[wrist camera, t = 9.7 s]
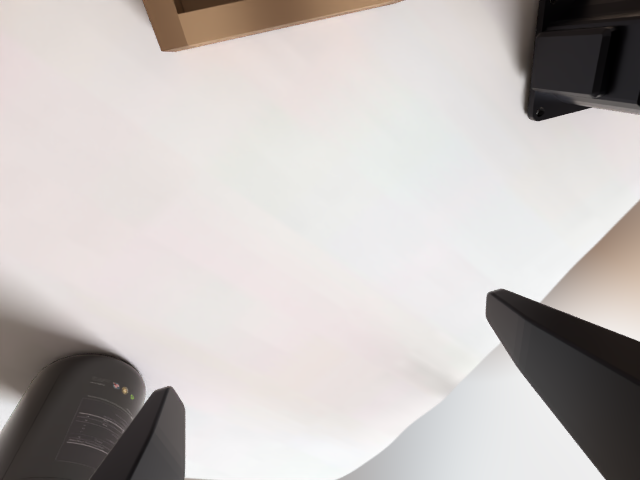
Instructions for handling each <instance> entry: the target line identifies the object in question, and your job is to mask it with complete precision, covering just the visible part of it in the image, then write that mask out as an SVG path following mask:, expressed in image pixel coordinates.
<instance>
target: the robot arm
mask: <svg viewBox="0 0 640 480" xmlns="http://www.w3.org/2000/svg"><path fill="white" fill-rule="evenodd" d="M592 107H593V108H599V109H606V110H612V111H619V112H625V113H631V114H638V115H640V0H552V2H551V3H550V0H540V1H539V10H538V19H537V29H536V38H535V48H534V57H533V67H532V76H531V86H530V95H529V104H528V118H529V119H531V120H534V121H541V120H545V119H549V118H553V117H557V116H561V115H565V114H569V113H573V112H576V111H580V110H584V109H588V108H592ZM538 109H539V113H538V114H536V113H537V110H538ZM486 318H487V320H488V322H489V324H490V325H491V327H492V329H493V330H494V332H495V333H496V335H497V336H498V338H499V340H500V341H501V343H502V344H503V346H504V347H505V349H506V351H507V352H508V354H509V355H510V357H511V358H512V360H513V361H514V363H515V365H516V366H517V367H518V369H519V370H520V371H521V373H522V374H523V375H524V377H525V378H526V379H527V380H528V382H529V383H530V384H531V386H532V387H533V388H534V389H535V391H536V392H537V393H538V394H539V396H540V397H541V398H542V400H543V401H544V402H545V403H546V405H547V406H548V407H549V408H550V410H551V411H552V412H553V414H554V415H555V416H556V417H557V419H558V420H559V421H560V422H561V424H562V425H563V426H564V427H565V429H566V430H567V431H568V433H569V434H570V435H571V436H572V438H573V439H574V440H575V441H576V443H577V444H578V445H579V446H580V448H581V449H582V450H583V452H584V453H585V454H586V455H587V456H588V458H589V459H590V460H591V462H592V463H593V464H594V466H595V467H596V468H597V469H598V470H599V472H600V473H601V474H602V476H603V477H604V478H605V479H606V480H640V342H639V341H637V340H634V339H631V338H629V337H626V336H624V335H621V334H618V333H616V332H613V331H611V330H608V329H605V328H603V327H600V326H598V325H595V324H593V323H590V322H588V321H585V320H582V319H580V318H577V317H575V316H572V315H570V314H567V313H564V312H562V311H559V310H556V309H554V308H552V307H549V306H546V305H544V304H541V303H539V302H536V301H534V300H531V299H528V298H526V297H523V296H521V295H518V294H515V293H513V292H510V291H508V290H505V289H498V290H494V291H491V292H489V293H488V294H487V299H486ZM184 477H185V408H184V405H183V403H182V401H181V400H180V398H179V396H178V395H177V393H176V392H175V390H174V389H173V387H171V386H167V387H164V388H161V389H157V390H155V391H154V392H153V393H152V394H151V396H150V397H149V398H148V400H147V401H146V403H145V404H144V405H143V407H142V408H141V409H140V411H139V412H138V413H137V415H136V416H135V418H134V419H133V420H132V422H131V423H130V424H129V426H128V427H127V429H126V430H125V431H124V433H123V434H122V435H121V437H120V438H119V439H118V441H117V442H116V444H115V445H114V446H113V448H112V449H111V450H110V452H109V453H108V454H107V456H106V457H105V459H104V460H103V461H102V463H101V464H100V465H99V467H98V468H97V469H96V471H95V472H94V474H93V475H92V476H91V478H90V479H89V480H184Z"/></svg>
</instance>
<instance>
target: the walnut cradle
mask: <svg viewBox="0 0 640 480" xmlns="http://www.w3.org/2000/svg"><path fill="white" fill-rule="evenodd" d="M401 1H404V0H143V3H144V6H145V8H146V11H147V14H148V16H149V19H150V22H151V24H152V27H153V30H154V32H155V35H156V38H157V40H158V43H159V46H160V49H161V51H165V52H177V51H181V50H186V49H190V48H195V47H199V46H204V45H208V44H213V43H217V42H222V41H226V40H231V39H235V38H240V37H245V36H249V35H254V34H258V33H263V32H267V31H272V30H276V29H281V28H285V27H290V26H294V25H299V24H303V23H308V22H313V21H317V20H322V19H326V18H331V17H335V16H340V15H344V14H349V13H353V12H358V11H362V10H367V9H371V8H376V7H381V6H385V5H390V4H394V3H398V2H401Z"/></svg>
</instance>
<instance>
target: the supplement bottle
mask: <svg viewBox="0 0 640 480" xmlns="http://www.w3.org/2000/svg"><path fill="white" fill-rule="evenodd" d="M145 395H146V389H145V384H144V381H143V379H142V377H141V375H140V374H139V373H138V372H137V371H136V370H135V369H134V368H133V367H132V366H130V365H129V364H127V363H126V362H124V361H122V360H119V359H117V358H114V357H110V356H106V355H98V354H81V355H74V356H70V357H66V358H63V359H60V360H58V361H55V362H53V363H51V364H50V365H48V366H46V367H45V368H44V369H43V370H41V371H40V372H39V373H38V374H37V376H36V377H35V378H34V379H33V381H32V382H31V384H30V386H29V387H28V389H27V390H26V392H25V393H24V395H23V397H22V398H21V400H20V401H19V403H18V405H17V406H16V408H15V409H14V411H13V413H12V414H11V416H10V418H9V419H8V421H7V422H6V424H5V426H4V427H3V429H2V431H1V432H0V480H89V479H90V478H91V476H92V475H93V474H94V472H95V471H96V469H97V468H98V467H99V465H100V464H101V463H102V461H103V460H104V459H105V457H106V456H107V454H108V453H109V452H110V450H111V449H112V448H113V446H114V445H115V444H116V442H117V441H118V439H119V438H120V437H121V435H122V434H123V433H124V431H125V430H126V429H127V427H128V426H129V424H130V423H131V422H132V420H133V419H134V418H135V416H136V415H137V413H138V412H139V411H140V409H141V408H142V407H143V404H144V400H145Z"/></svg>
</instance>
